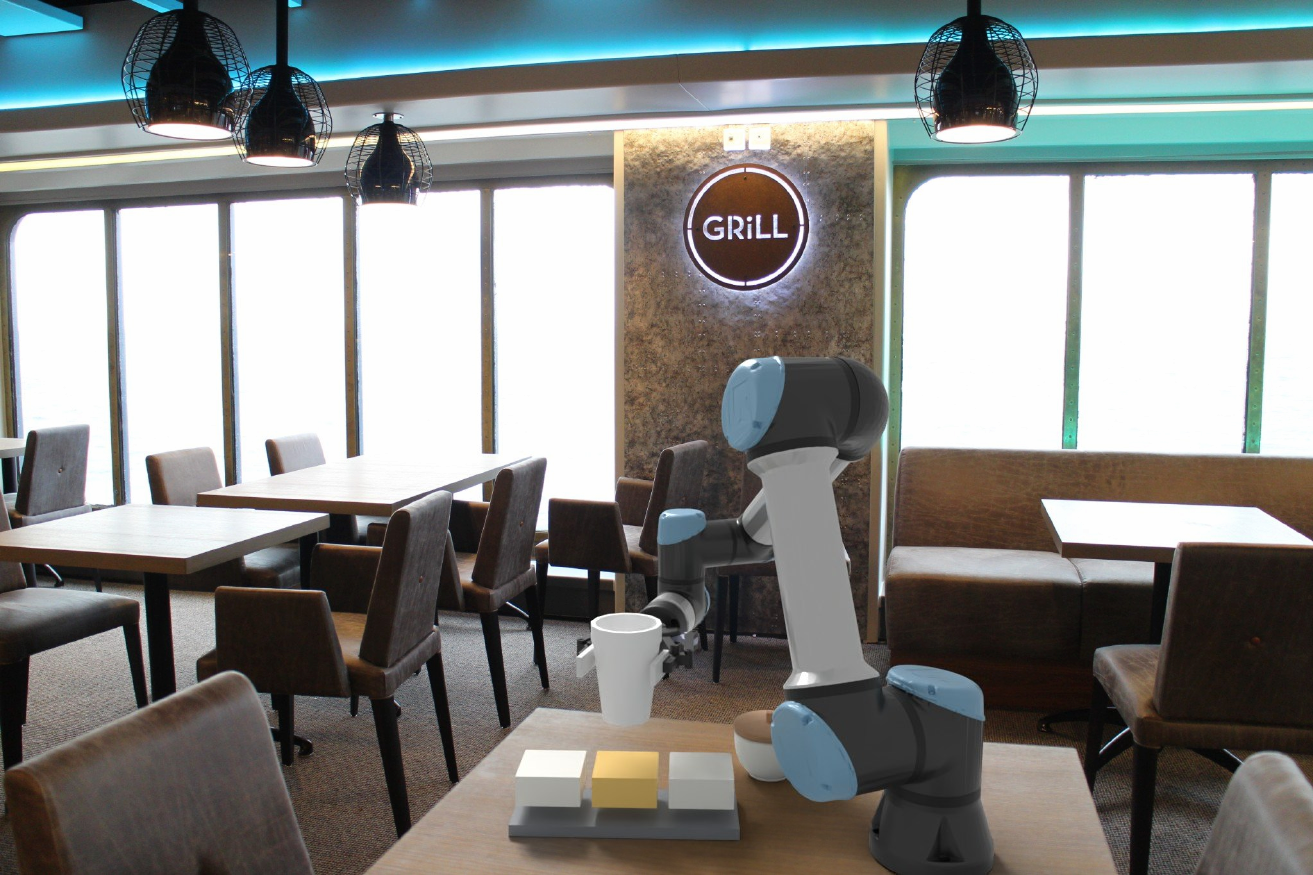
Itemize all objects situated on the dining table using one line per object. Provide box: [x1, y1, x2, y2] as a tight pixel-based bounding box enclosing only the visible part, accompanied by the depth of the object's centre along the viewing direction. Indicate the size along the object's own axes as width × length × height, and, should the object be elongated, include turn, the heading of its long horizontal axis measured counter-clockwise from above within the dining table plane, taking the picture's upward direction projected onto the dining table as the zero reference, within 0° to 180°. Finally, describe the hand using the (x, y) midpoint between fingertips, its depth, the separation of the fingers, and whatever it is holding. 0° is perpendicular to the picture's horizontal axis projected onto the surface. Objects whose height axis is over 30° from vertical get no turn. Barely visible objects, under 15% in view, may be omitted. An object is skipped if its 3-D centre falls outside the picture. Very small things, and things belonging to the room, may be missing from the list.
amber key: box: [591, 750, 660, 808], centre depth 132 cm, size 8×8×4 cm
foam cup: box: [590, 612, 662, 728], centre depth 130 cm, size 10×9×13 cm
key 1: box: [514, 749, 588, 807], centre depth 132 cm, size 8×8×4 cm
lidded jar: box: [733, 709, 787, 783], centre depth 146 cm, size 11×11×9 cm
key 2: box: [668, 751, 735, 810], centre depth 132 cm, size 8×8×4 cm
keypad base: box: [508, 787, 741, 841], centre depth 132 cm, size 30×11×2 cm, turn 88°
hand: (615, 671), depth 126 cm, fingers closed on foam cup, 9 cm apart
